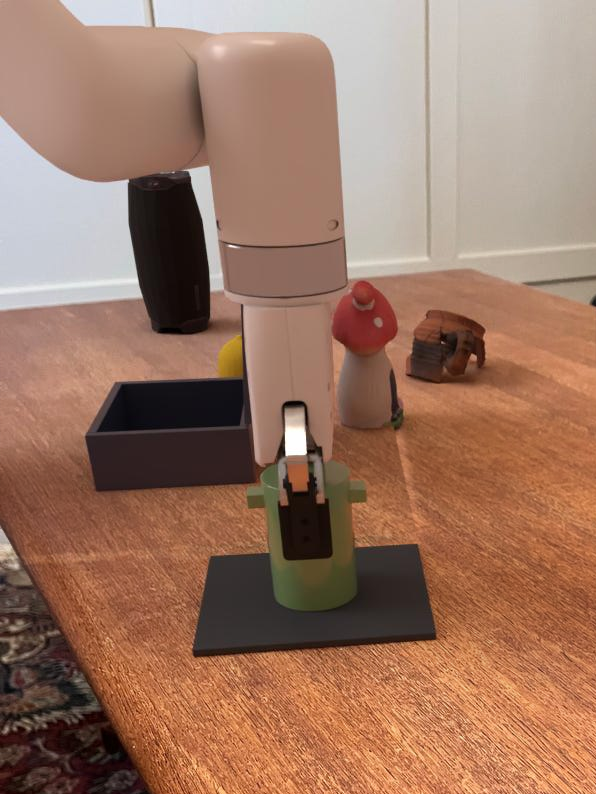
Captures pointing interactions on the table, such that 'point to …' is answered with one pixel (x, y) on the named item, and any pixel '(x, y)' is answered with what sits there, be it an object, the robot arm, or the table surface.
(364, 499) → the green pot
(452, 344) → the brown carved piece
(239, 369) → the lemon
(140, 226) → the portable speaker
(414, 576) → the grey mat
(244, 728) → the table surface
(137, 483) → the box
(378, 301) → the decorative ornament
